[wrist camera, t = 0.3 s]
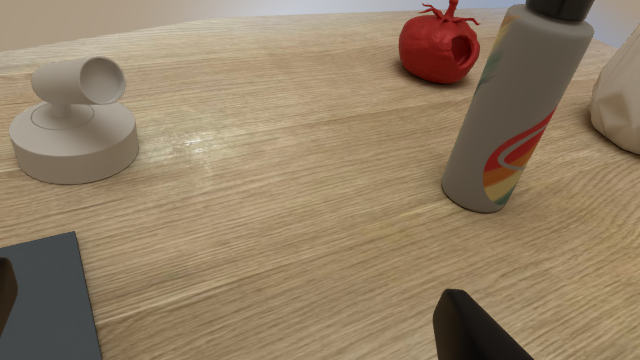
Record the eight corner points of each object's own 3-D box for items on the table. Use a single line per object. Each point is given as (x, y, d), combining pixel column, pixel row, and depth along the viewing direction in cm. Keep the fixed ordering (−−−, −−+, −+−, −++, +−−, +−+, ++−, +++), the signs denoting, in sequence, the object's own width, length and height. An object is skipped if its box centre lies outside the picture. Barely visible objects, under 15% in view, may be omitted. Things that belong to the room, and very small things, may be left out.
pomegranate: (380, 72, 56) (399, -5, 51) (407, 50, 64) (425, -20, 58) (457, 99, 53) (486, 21, 48) (476, 72, 61) (503, 1, 55)
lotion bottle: (519, 211, 38) (661, -48, 26) (460, 217, 36) (584, -57, 24) (482, 170, 42) (591, -70, 30) (428, 173, 41) (520, -79, 28)
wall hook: (34, 83, 25) (-48, 25, 29) (68, 210, 31) (-4, 147, 35) (163, 48, 31) (80, 3, 35) (171, 160, 37) (99, 111, 41)
